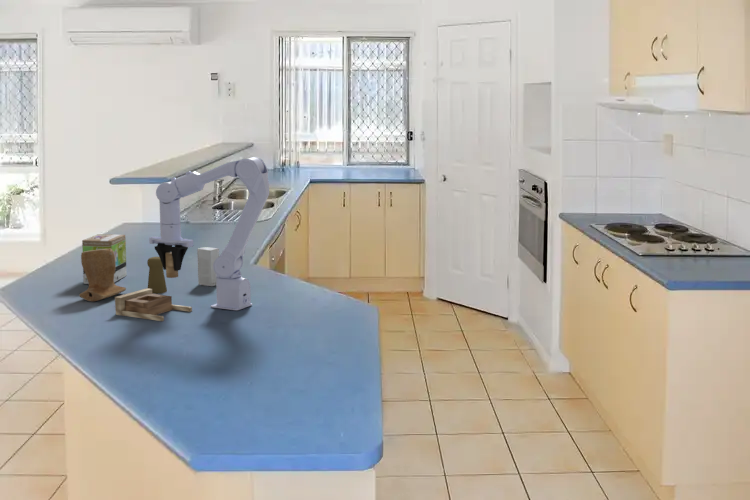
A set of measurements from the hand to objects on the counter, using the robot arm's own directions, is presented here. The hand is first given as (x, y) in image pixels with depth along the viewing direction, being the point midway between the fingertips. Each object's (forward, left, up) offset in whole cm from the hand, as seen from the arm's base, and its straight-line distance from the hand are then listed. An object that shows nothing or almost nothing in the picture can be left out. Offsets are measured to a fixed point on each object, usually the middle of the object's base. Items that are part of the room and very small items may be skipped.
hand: (172, 269), depth 242 cm
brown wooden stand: (+26, +2, -11) cm, 28 cm away
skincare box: (+8, -28, -11) cm, 31 cm away
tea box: (+43, -18, -11) cm, 48 cm away
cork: (+16, -12, -11) cm, 22 cm away
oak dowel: (0, 0, -2) cm, 2 cm away
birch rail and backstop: (-2, +10, -10) cm, 15 cm away
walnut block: (0, +10, -10) cm, 15 cm away
